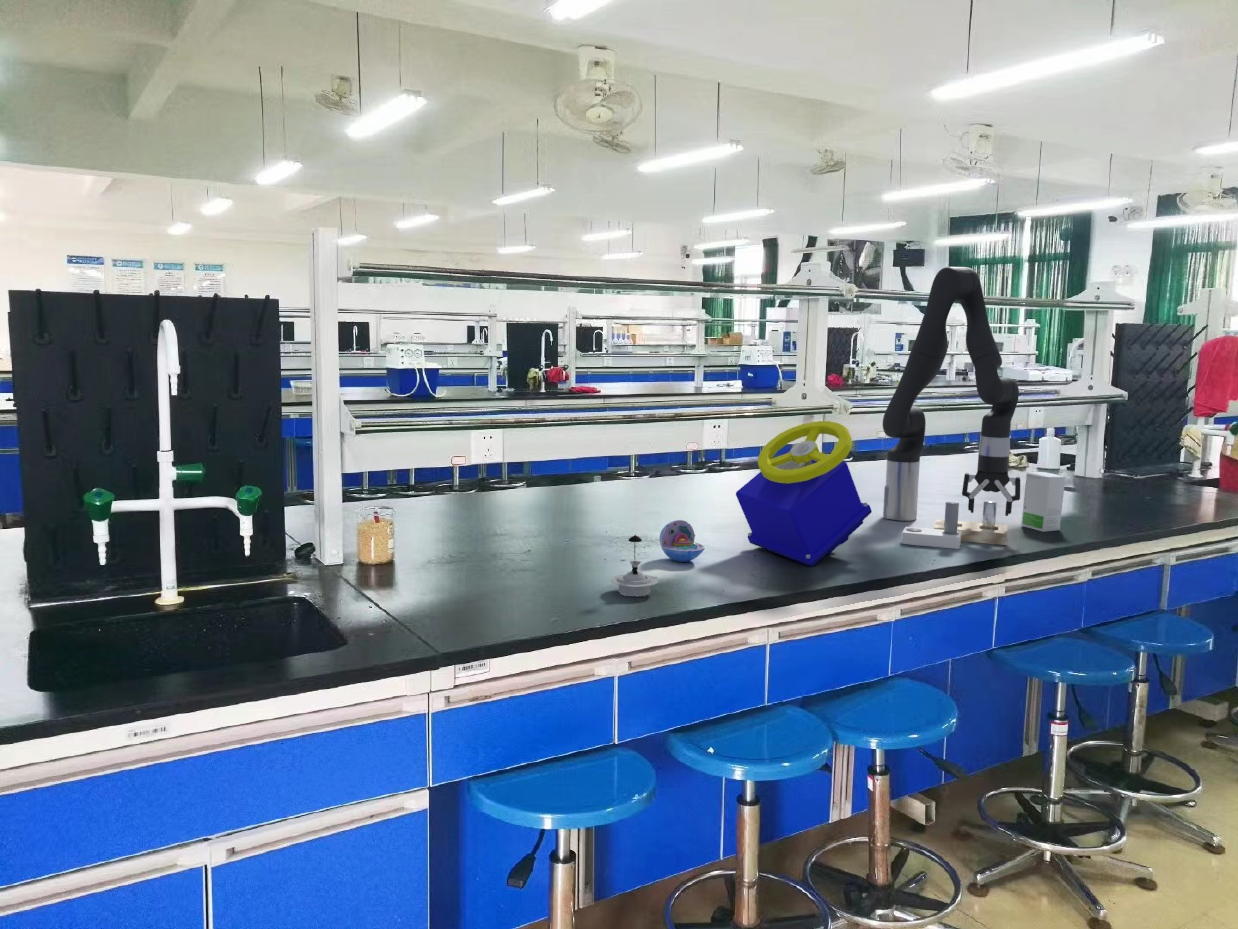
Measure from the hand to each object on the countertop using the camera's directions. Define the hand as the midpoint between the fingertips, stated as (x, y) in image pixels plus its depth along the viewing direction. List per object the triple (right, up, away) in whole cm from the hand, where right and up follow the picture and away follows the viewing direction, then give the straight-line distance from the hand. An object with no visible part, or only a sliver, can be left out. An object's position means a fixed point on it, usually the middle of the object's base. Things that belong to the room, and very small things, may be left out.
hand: (989, 513), depth 240 cm
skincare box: (+21, -5, +15) cm, 26 cm away
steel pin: (0, -7, +1) cm, 7 cm away
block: (-17, -7, -5) cm, 19 cm away
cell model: (-83, -10, -26) cm, 88 cm away
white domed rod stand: (-95, -14, -53) cm, 110 cm away
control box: (-53, -10, -21) cm, 58 cm away
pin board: (-4, -6, +2) cm, 8 cm away
